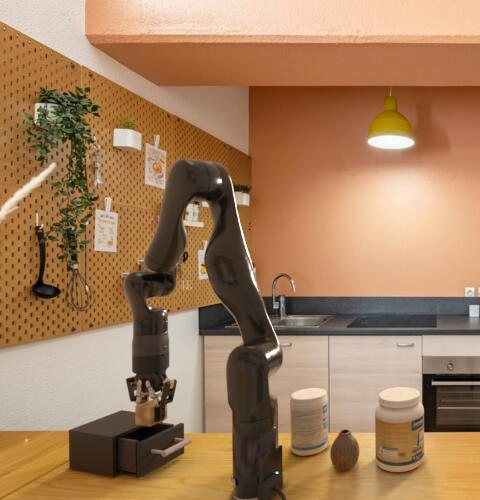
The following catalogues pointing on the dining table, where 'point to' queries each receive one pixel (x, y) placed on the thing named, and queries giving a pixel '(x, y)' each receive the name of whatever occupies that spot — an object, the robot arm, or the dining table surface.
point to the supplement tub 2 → (399, 429)
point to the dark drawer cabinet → (99, 443)
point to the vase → (344, 451)
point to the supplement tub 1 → (309, 421)
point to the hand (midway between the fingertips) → (151, 419)
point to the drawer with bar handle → (150, 447)
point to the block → (146, 414)
